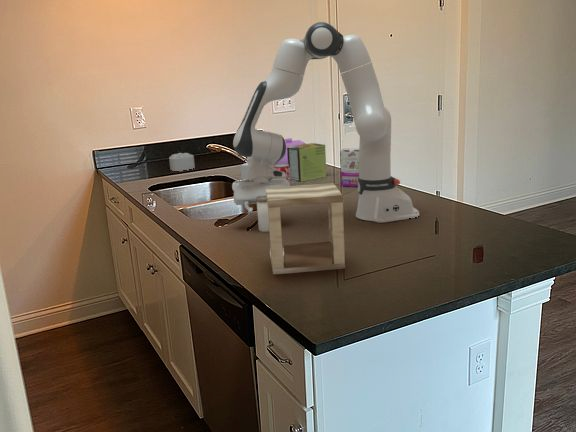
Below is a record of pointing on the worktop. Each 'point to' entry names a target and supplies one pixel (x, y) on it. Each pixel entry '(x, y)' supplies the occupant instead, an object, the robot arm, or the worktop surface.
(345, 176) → the candy bar box
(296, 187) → the shelf
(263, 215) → the jar
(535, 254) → the worktop surface
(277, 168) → the soda can
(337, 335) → the worktop surface
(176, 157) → the lumpy-topped squat cylinder
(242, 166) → the skincare box
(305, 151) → the protein box
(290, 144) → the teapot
